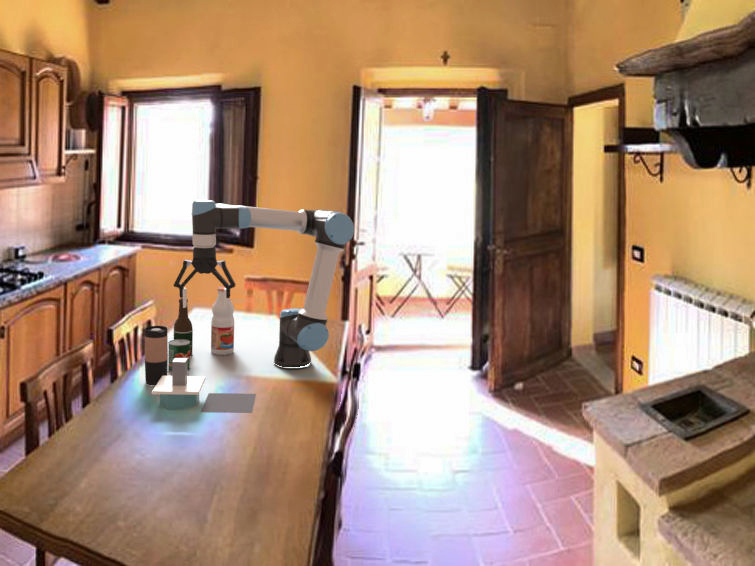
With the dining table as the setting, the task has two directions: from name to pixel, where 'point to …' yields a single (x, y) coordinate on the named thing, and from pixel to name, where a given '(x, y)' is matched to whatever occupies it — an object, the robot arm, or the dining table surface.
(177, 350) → the canned tomato
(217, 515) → the dining table surface
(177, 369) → the lid
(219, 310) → the fruit juice
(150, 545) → the dining table surface
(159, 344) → the travel mug
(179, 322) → the beer bottle
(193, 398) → the bowl
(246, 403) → the mat
